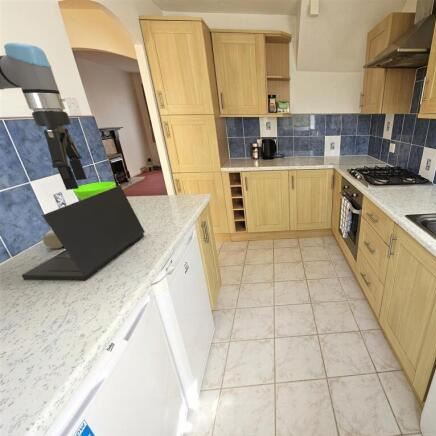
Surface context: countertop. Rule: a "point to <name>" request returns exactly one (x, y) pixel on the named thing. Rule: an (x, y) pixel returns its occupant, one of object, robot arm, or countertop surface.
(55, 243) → the ceramic mug
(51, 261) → the laptop
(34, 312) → the countertop surface
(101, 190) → the wineglass
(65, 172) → the robot arm
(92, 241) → the laptop screen
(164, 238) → the countertop surface
